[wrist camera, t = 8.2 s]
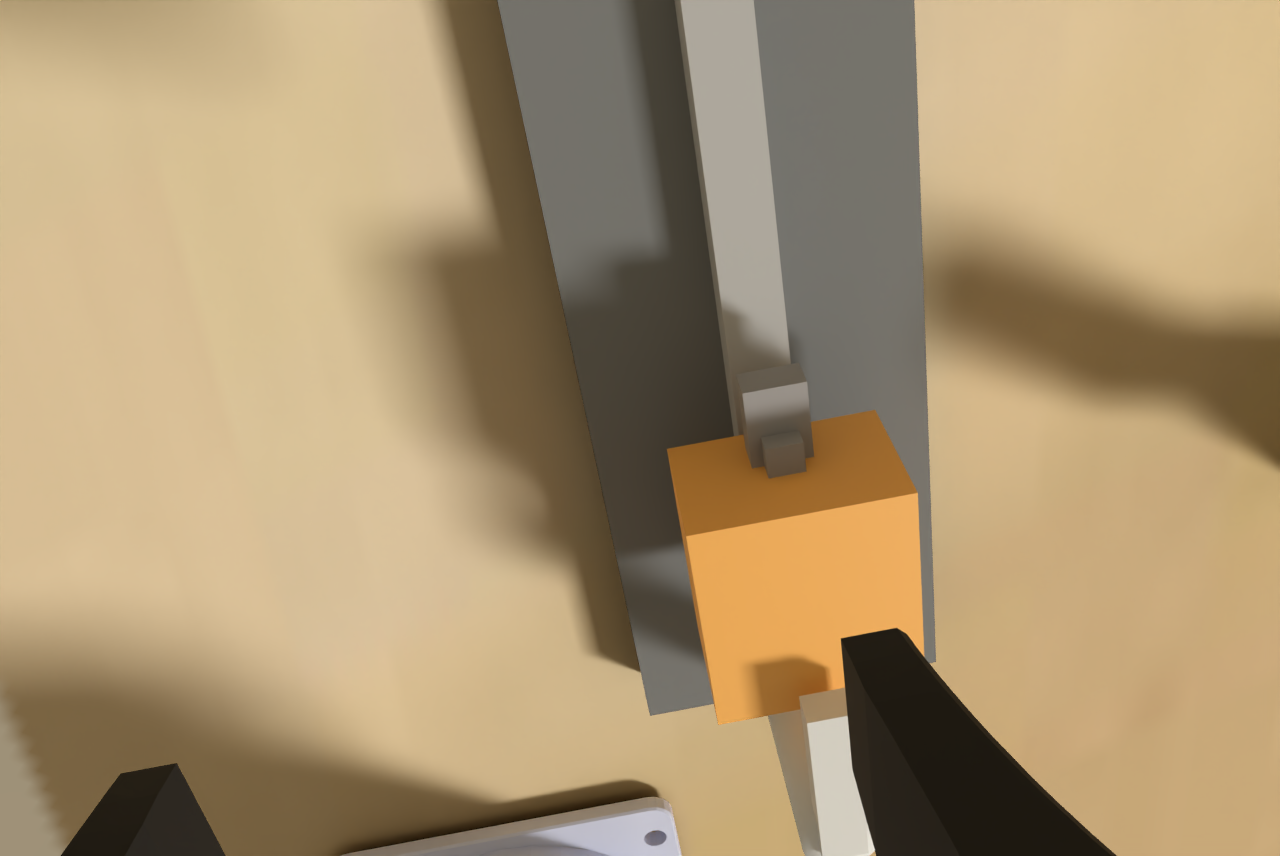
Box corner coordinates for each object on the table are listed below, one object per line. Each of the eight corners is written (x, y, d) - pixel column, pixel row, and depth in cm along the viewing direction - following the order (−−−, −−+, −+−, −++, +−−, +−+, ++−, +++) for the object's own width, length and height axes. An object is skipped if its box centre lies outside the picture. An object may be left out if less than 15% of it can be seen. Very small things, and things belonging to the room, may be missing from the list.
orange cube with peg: (885, 593, 22) (925, 686, 20) (698, 628, 22) (718, 724, 20) (870, 336, 19) (914, 413, 17) (654, 377, 19) (673, 459, 17)
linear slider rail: (918, 623, 26) (1016, 843, 21) (644, 674, 26) (678, 907, 21) (886, -128, 18) (1033, -53, 13) (489, -54, 18) (487, 49, 13)
